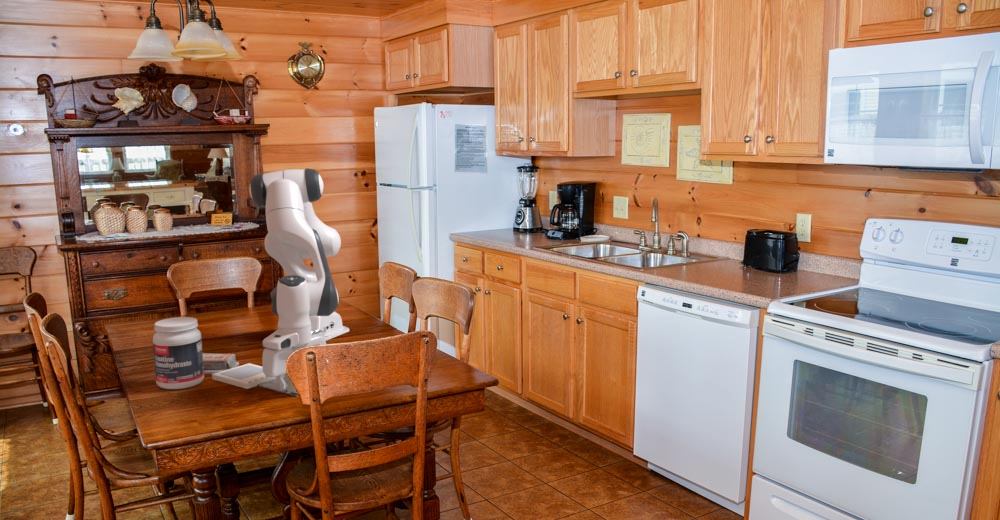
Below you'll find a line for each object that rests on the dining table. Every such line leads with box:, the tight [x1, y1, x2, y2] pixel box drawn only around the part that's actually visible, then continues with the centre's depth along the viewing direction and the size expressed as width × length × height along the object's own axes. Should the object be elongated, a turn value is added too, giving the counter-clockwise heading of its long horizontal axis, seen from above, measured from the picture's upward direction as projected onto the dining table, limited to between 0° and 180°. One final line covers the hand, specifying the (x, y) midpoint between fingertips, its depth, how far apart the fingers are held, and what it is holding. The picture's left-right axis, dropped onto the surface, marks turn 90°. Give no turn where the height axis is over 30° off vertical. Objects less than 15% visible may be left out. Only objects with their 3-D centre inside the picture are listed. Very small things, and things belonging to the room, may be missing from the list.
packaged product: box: [202, 352, 240, 375], centre depth 232 cm, size 18×5×10 cm
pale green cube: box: [283, 373, 298, 394], centre depth 210 cm, size 5×6×5 cm
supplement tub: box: [152, 316, 205, 390], centre depth 217 cm, size 13×13×18 cm
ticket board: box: [211, 362, 299, 398], centre depth 218 cm, size 13×33×2 cm, turn 55°
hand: (297, 384), depth 211 cm, fingers open, 8 cm apart
